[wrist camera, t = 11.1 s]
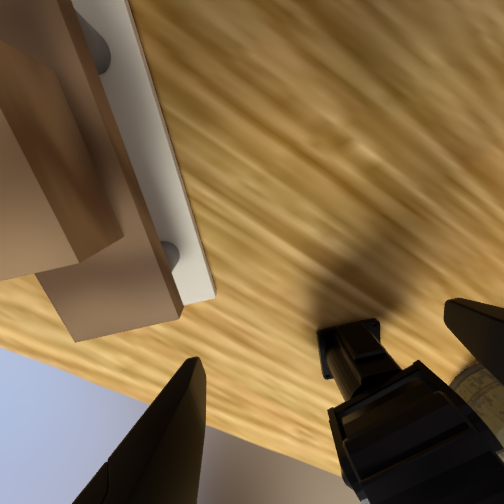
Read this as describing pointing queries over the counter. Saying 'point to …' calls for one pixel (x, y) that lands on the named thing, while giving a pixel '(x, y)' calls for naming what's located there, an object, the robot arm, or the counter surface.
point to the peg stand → (146, 140)
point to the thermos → (483, 398)
